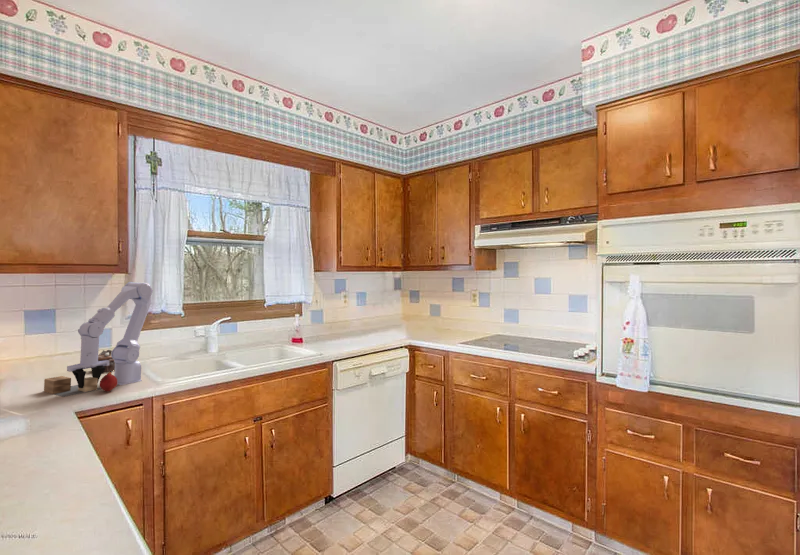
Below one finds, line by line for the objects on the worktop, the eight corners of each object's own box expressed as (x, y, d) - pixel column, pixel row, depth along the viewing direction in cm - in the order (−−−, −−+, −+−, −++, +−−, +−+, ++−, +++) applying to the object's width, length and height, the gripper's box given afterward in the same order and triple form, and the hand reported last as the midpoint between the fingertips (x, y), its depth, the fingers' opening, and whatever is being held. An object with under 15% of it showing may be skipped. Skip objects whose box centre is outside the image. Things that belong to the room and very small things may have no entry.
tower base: (61, 388, 166) (61, 382, 166) (70, 390, 164) (70, 384, 164) (43, 391, 161) (44, 385, 161) (52, 394, 158) (53, 387, 158)
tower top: (61, 382, 166) (62, 375, 166) (70, 384, 164) (71, 378, 164) (44, 385, 161) (44, 378, 161) (53, 387, 158) (53, 381, 158)
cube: (90, 387, 169) (90, 376, 169) (97, 389, 167) (97, 378, 167) (78, 390, 165) (78, 378, 165) (84, 391, 163) (85, 380, 163)
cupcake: (104, 368, 205) (105, 348, 205) (122, 369, 204) (123, 349, 204) (87, 372, 195) (88, 351, 195) (106, 373, 194) (107, 352, 194)
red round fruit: (107, 394, 162) (108, 374, 162) (95, 393, 163) (96, 372, 163) (120, 391, 168) (121, 371, 168) (108, 389, 169) (109, 370, 169)
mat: (82, 384, 174) (82, 383, 174) (102, 389, 168) (102, 388, 168) (42, 392, 161) (42, 391, 161) (63, 397, 156) (63, 396, 156)
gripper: (75, 356, 158) (73, 391, 158) (114, 351, 171) (113, 383, 171) (64, 354, 161) (62, 389, 161) (103, 349, 174) (102, 381, 174)
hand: (87, 386), depth 166 cm, fingers closed on cube, 4 cm apart
